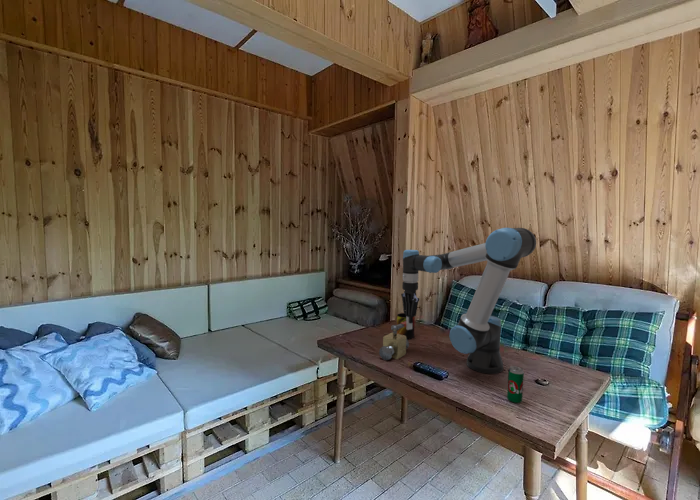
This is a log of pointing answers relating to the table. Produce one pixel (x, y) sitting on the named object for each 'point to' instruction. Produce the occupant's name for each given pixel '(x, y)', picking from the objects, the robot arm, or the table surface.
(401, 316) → the mug
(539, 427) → the table surface
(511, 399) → the soda can
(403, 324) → the lever
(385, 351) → the valve
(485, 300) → the robot arm
